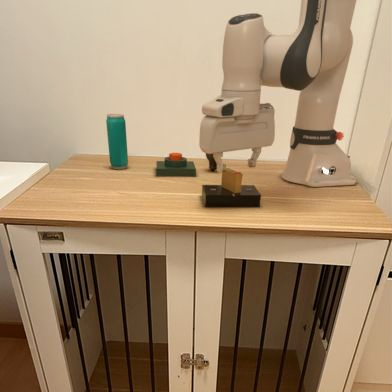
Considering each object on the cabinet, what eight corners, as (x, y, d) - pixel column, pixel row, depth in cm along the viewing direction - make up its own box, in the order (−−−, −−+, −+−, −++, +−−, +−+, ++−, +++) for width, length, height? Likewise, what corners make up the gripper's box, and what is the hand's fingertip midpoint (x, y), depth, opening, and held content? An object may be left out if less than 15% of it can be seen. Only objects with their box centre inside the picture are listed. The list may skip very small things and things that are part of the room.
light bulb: (201, 171, 131) (203, 118, 122) (206, 168, 135) (208, 116, 126) (218, 173, 130) (221, 120, 121) (222, 170, 134) (226, 117, 125)
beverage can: (126, 165, 135) (122, 113, 126) (130, 169, 131) (126, 116, 122) (108, 166, 134) (104, 113, 125) (112, 170, 129) (107, 116, 120)
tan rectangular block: (221, 186, 107) (222, 167, 104) (227, 186, 108) (228, 166, 105) (234, 193, 103) (236, 173, 100) (240, 192, 103) (242, 172, 101)
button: (181, 158, 129) (181, 152, 128) (182, 161, 126) (182, 155, 125) (169, 158, 129) (168, 152, 128) (169, 161, 126) (169, 155, 125)
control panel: (252, 195, 112) (253, 183, 110) (260, 208, 103) (261, 195, 101) (201, 195, 111) (201, 183, 109) (205, 208, 102) (206, 195, 100)
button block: (193, 168, 134) (193, 155, 132) (195, 176, 126) (196, 162, 124) (156, 168, 133) (156, 154, 131) (156, 176, 125) (156, 162, 123)
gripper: (266, 101, 100) (261, 162, 108) (195, 106, 91) (195, 171, 99) (283, 103, 96) (277, 166, 104) (211, 108, 87) (210, 177, 95)
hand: (236, 169), depth 102 cm, fingers open, 8 cm apart
